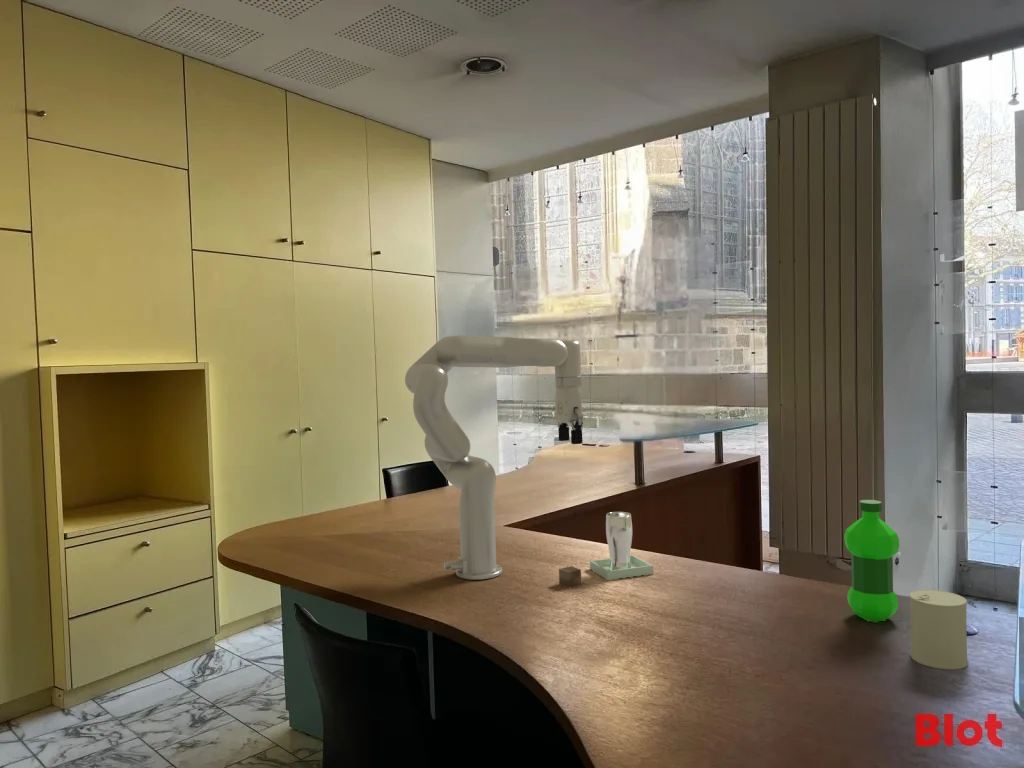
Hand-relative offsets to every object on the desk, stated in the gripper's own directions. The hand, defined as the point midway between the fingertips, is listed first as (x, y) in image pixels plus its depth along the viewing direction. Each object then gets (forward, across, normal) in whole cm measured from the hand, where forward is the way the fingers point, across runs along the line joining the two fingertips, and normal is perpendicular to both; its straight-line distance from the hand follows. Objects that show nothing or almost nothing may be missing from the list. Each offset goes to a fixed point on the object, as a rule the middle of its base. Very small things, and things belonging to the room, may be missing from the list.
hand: (570, 442), depth 212 cm
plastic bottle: (+34, +72, +39) cm, 88 cm away
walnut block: (+33, +24, -11) cm, 43 cm away
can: (+34, +93, +34) cm, 105 cm away
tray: (+33, +20, +6) cm, 39 cm away
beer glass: (+33, +20, +5) cm, 39 cm away
